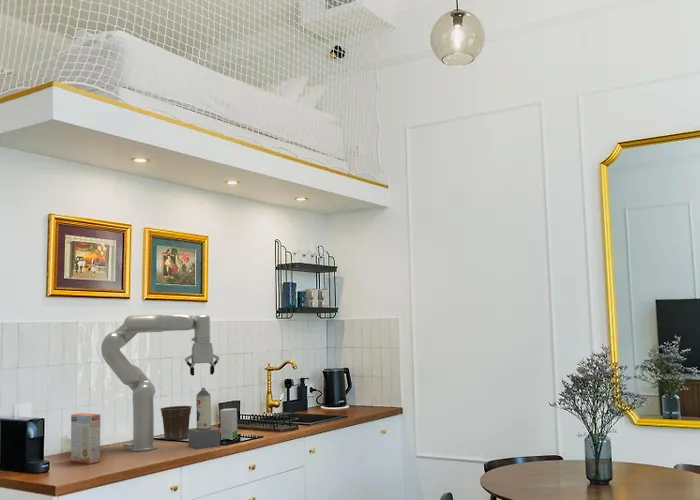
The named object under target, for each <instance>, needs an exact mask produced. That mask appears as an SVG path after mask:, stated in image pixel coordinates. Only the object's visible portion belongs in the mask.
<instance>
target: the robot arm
mask: <svg viewBox="0 0 700 500" xmlns="http://www.w3.org/2000/svg"><path fill="white" fill-rule="evenodd" d="M210 320H211V318H210V316H209V315H208V314H207V315H206V314H201V315H200V314H198V315H189V314H175V315H173V314H172V315H163V314H142V315H141V314H140V315H139V314H137V315H129V316H126V318H125V319H124V321H123V323H122V325H120V326H119V327H118V328H117V329H116V330H115V331H113V332H110V333H108V334H106V336H105V337H104V338H103V341H102V343H101V347H100V351H101V356H102V358H103V360H104V361H105V363H106V364H107V366H109V368H110V369H111V371H113V373H114V374H115V376H116V377H117V378H118V379H119V381H121V383H122V384H123V385H125V386H128V388H130V390H131V391H132V418H133V419H132V424H133V425H132V439H131V441H129V442H128V441H127V442H126V441H125V442H123V443H122V447H123V448H126V447H127V448H128V447H129V451H132V452H146V451H151V450H152V451H153V450H157V449H158V446H157V445H156V444H154V439H155V438H154V436H155V435H154V434H155V433H154V431H155V430H154V429H155V428H154V427H155V426H154V424H155V423H154V419H155V418H154V417H155V415H154V409H155V408H154V396H155V394H156V387H155V385H154V384H153V383H152V381H151V380H150V379H149V378H148V376H147V375H146V374H145V373H144V372H143V371H142V369H141V368H139V366H138V365H134V364H132V363H131V362H130V361H129V360H128V358H127V357H126V356H125V354H123V353H122V350H121V349H122V348H123V347H124V346H126V345H127V344H128V343H129V342H130V341H131V340H132V339H134V337H136V335H137V334H140V333H141V334H142V333H162V332H167V331H168V332H172V331H191V330H194V334H193V335H194V336H193V337H192V338H191V341H192V342H194V343H192V348H191V355H188V356H186V357H184V361H185V363H186V365H187V366H188V367H189V375H191V376H193V377H194V376H195V367H194V366H195V365H196V364H209V365H210V367H209V374H210V375H212V376H213V375H214V373H215V366H216V365H217V364H218V363H219V360H220V356H218V355H215V354H214V350H213V349H214V348H213V343H212V342H211V323H210ZM189 360H191V362H190V361H189Z"/></svg>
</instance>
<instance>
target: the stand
mask: <svg viewBox="0 0 700 500" xmlns="http://www.w3.org/2000/svg"><path fill="white" fill-rule="evenodd" d="M188 446H189V447H190V448H191V447H192V448H193V449H195V450H199V449H207V448H209V449H210V448H216V447H221V428H220V429H219V428H217V427H215V426H211V429H209V430H197V427H196V428H189V434H188Z"/></svg>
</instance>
